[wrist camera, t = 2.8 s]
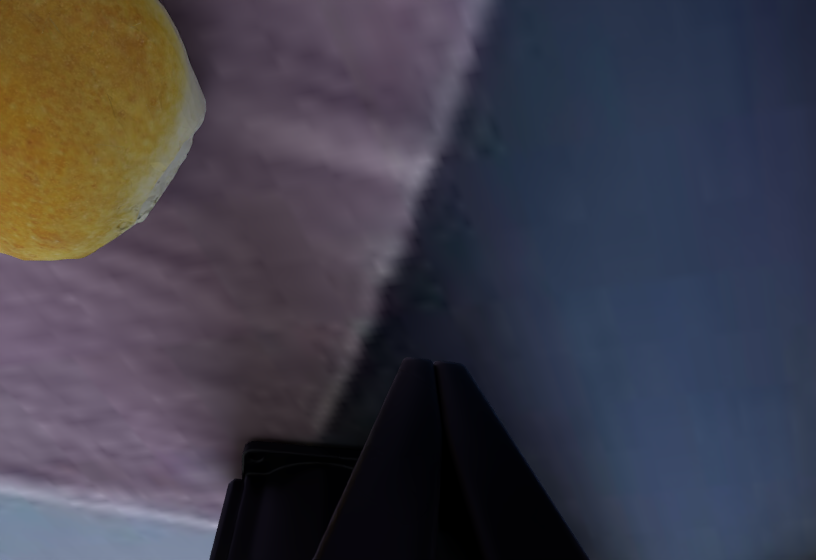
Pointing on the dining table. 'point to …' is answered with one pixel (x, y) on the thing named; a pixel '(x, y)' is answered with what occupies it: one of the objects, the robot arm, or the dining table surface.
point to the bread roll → (88, 121)
